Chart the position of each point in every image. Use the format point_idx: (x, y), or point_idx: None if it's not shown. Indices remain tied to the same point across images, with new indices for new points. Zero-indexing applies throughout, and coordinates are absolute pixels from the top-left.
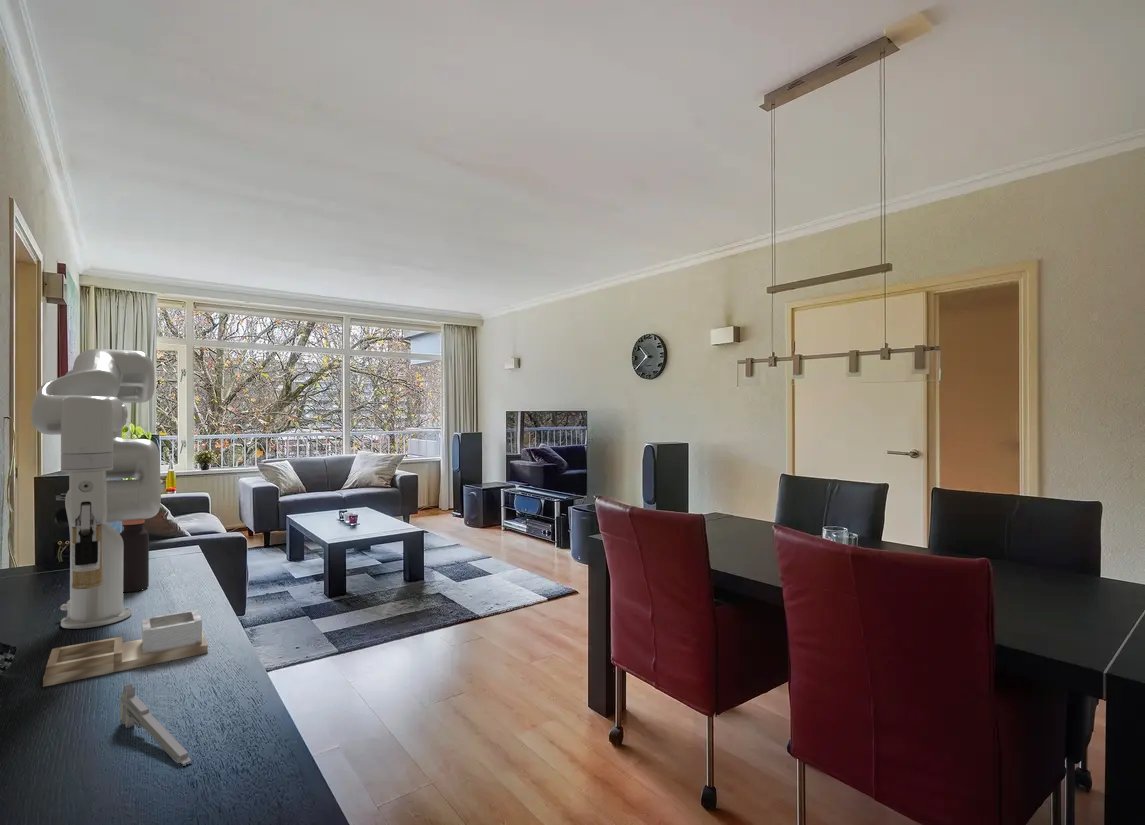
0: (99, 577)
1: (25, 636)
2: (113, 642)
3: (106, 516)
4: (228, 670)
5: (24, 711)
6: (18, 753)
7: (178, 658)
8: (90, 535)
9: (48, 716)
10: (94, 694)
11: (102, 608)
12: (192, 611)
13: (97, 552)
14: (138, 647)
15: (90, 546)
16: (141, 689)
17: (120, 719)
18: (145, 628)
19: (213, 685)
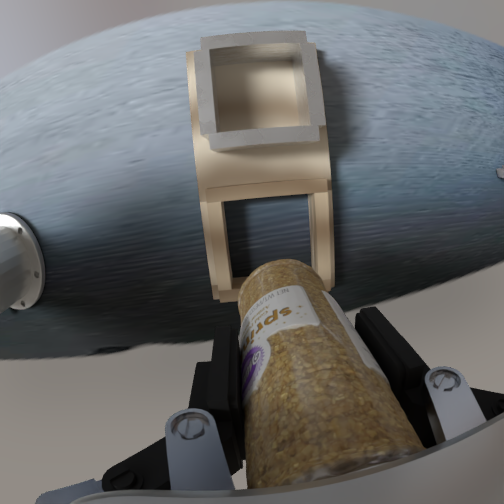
0: (308, 275)
1: (56, 342)
2: (221, 202)
3: (491, 471)
4: (410, 42)
5: (409, 281)
6: (497, 258)
7: None
8: (500, 397)
9: (441, 251)
10: (407, 207)
11: (15, 257)
12: (210, 46)
13: (395, 329)
14: (253, 155)
15: (426, 372)
16: (424, 149)
17: (500, 177)
18: (305, 135)
19: (451, 71)
